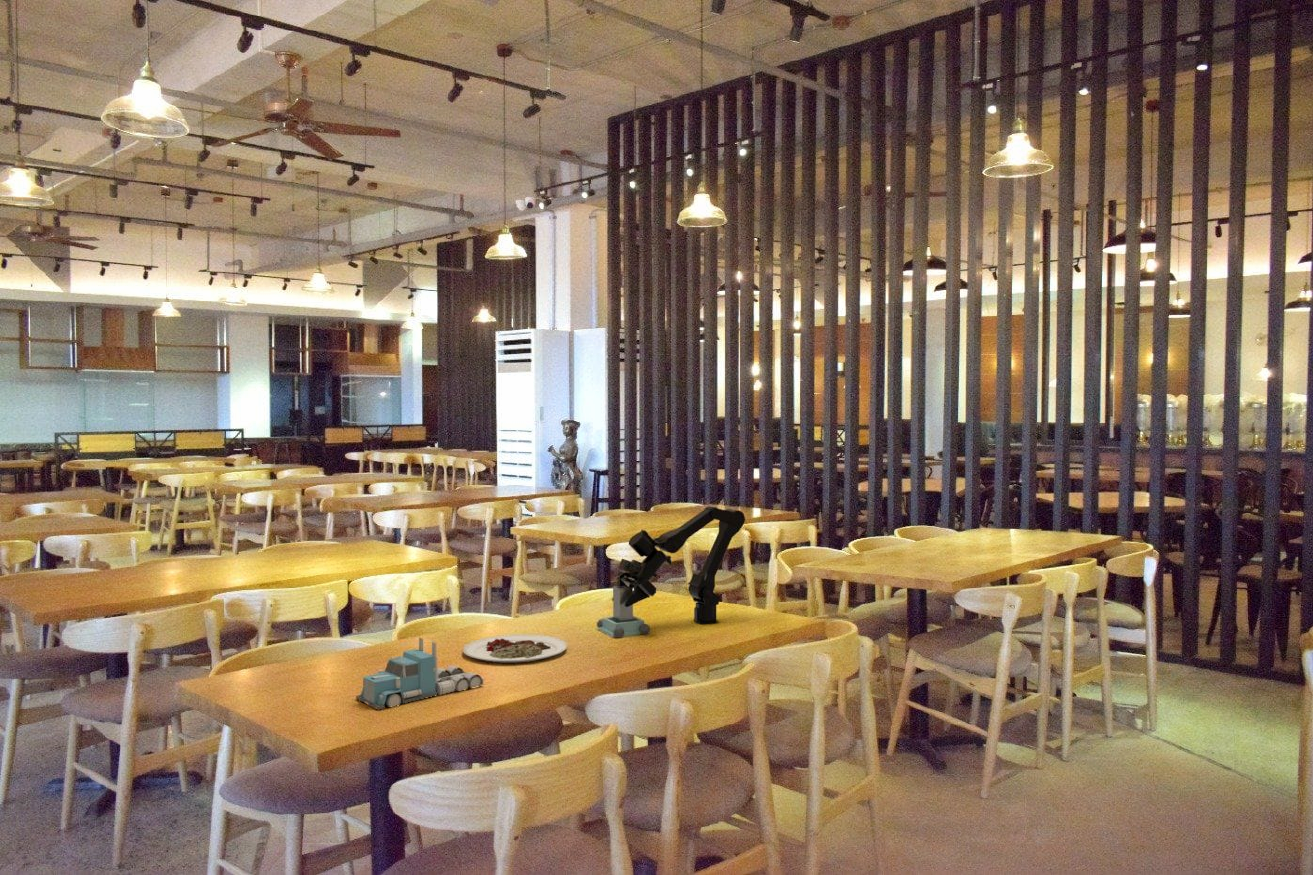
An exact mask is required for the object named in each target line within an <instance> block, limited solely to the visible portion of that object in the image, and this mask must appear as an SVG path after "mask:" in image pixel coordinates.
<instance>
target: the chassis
mask: <svg viewBox="0 0 1313 875" xmlns="http://www.w3.org/2000/svg"><path fill="white" fill-rule="evenodd" d="M596 627H597V628H598V631H600V632H601V633H603V634H606V635H608V637H611V638H617V639H620V638H621V639H622V638H623V637H629V636H636V635H637V636H638V635H645V636H646V635H649V633H650V632H651V627H650V625H649V624H647V623H645V620H644V619H641V618H639V617H637V616H634V615H633V621H630V622H622V623H616V622H614V621H613V616H609V617H607V616H606V617H602V618H600V619H599V620H598V621H597V622H596Z"/></svg>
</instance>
